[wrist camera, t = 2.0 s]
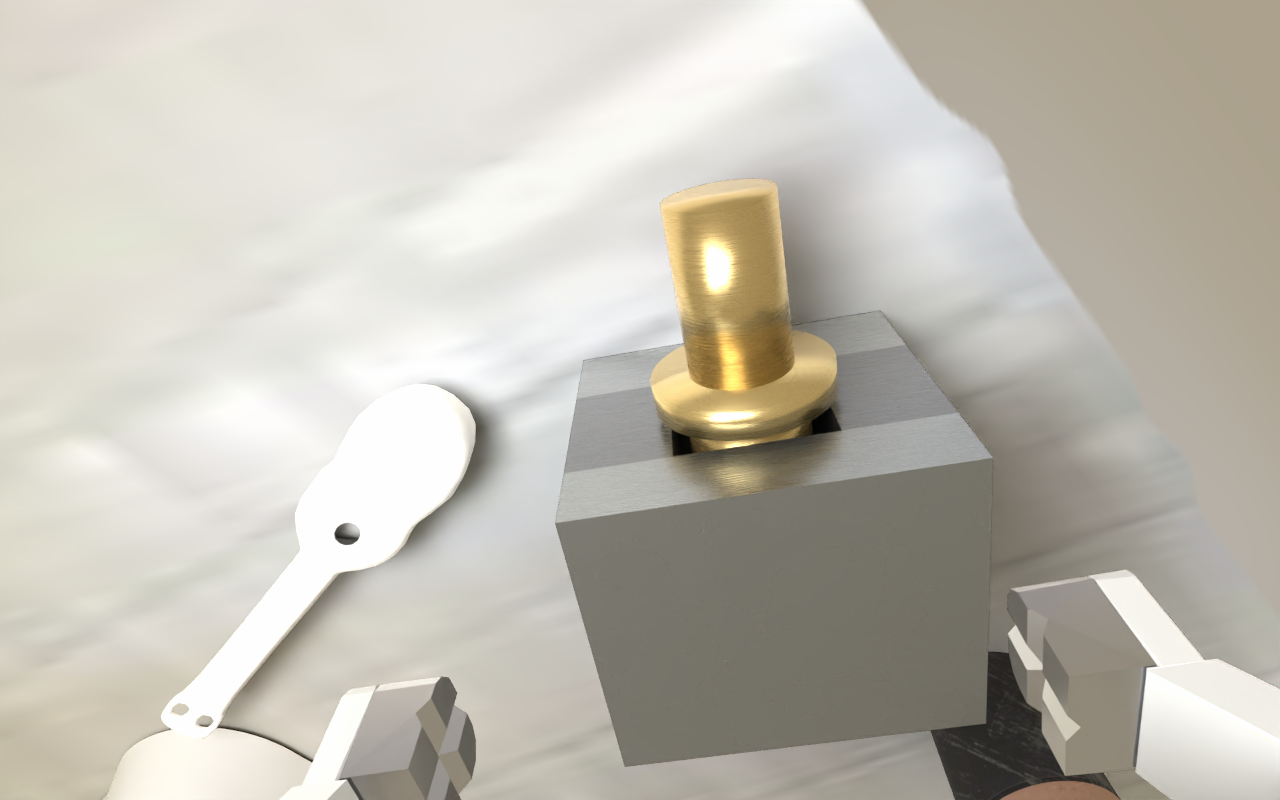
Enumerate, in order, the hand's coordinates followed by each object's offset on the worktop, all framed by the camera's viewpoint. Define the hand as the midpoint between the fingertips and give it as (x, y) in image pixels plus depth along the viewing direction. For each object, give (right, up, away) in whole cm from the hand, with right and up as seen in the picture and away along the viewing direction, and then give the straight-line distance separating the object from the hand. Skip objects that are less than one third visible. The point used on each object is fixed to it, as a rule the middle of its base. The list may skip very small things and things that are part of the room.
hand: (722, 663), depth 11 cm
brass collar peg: (+3, +6, +22) cm, 23 cm away
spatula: (-19, -5, +31) cm, 37 cm away
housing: (+4, +2, +28) cm, 28 cm away
